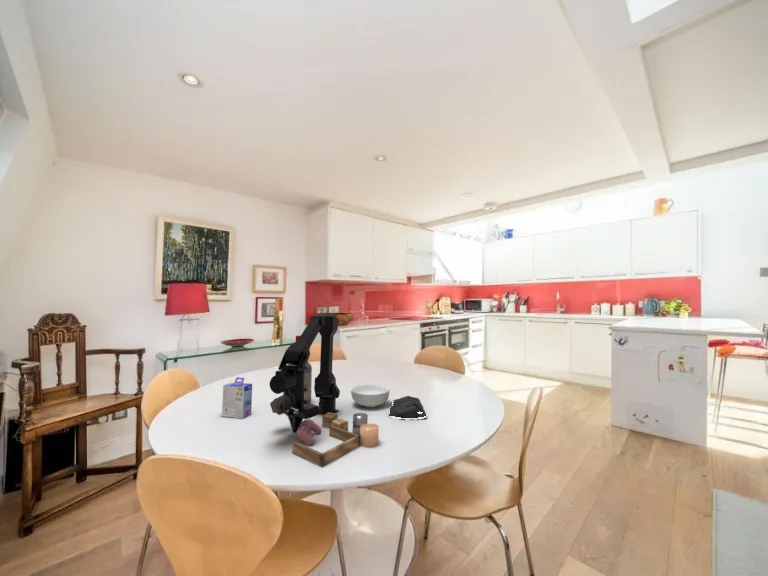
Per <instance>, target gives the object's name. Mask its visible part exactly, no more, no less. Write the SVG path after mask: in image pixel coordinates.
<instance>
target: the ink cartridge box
mask: <svg viewBox="0 0 768 576" xmlns="http://www.w3.org/2000/svg"><path fill="white" fill-rule="evenodd" d="M244 380H245V377H241V376H240V377H239V376H236V378H235V380H234V382H230V383H226V384H224V385H223V386H222V402H221V403H222V405H221V417H223V418H224V417H225V418H235V419H236V418H237V419H244V418H246V417H248V416H251V415H252V409H253V408H252V407H253V406H252V400H253V399H252V397H253V383H251V382H250V383H249V382H248V383H247V382H244Z"/></svg>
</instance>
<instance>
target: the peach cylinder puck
mask: <svg viewBox="0 0 768 576" xmlns="http://www.w3.org/2000/svg"><path fill="white" fill-rule="evenodd" d="M379 427H380V426H379V425H377V424H375V423H367V424H363V425H361V426H360V435H361V443H360V446H361V447H363V448H375V447H377V446H378V445H379V444H378V443H379V437H380V436H379V433H380V431H379V430H380V429H379Z"/></svg>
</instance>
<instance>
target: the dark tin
mask: <svg viewBox="0 0 768 576" xmlns="http://www.w3.org/2000/svg"><path fill="white" fill-rule="evenodd" d="M368 416H369V415H368V414H367V413H364V412H356V413H353V415H352V429H351V430H352V433H355V434H358V435H360V426H361V425H363V424H368V422H369V421H368V418H369V417H368Z"/></svg>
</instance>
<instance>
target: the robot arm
mask: <svg viewBox="0 0 768 576" xmlns="http://www.w3.org/2000/svg"><path fill="white" fill-rule="evenodd" d="M339 324H340V320H339V318H338V316H337V315H336V314H319V315H317V314H314V315H311V316H310V318H309V321H308V323H307V325H306V327H305V328H304V330H303V332H302V333H301V334H300V335H299V336H300V338H299V339H298V341H297V342H296V341H295V342H292V344H290V345H289V346H288V348H287V349H286V350H285V351H284V353H283V357H282V359H281V361H280V363H279V364H278V365H279V366H278V368H277V369H278V370H276V371H275V374H274V375H273V376H272V377H271V378H270V380H269V388H270V390H271V392H273V394H276V395H280V394H282V395H280V396H278V397H276V398H274V399H273V400H272V401H270V402H269V405H270V408H271V410H272V413H273V414H277V415H278V416H281V415H283V414H284V415H285V416H287V418H288V421H289V425H290V427H291V431H292V433H293V434H296V433H298V432H297V430H298V428H299V426H300V424H301V422H302V421H304V420H307V419H308V420H309V419H312V418H313V417H317V416H318V415H319V416H320V415H322V416H323V415H325V414H326V413H328V412H330V413H337V412H339V409H337V407H336V405H337V404H336V402H337V401H336V399H339V397H340V394H341V391H340V388H339V387H338V385H337V379H336V375H334V373H333V355H334V337H335V334H337V332H338V327H339ZM318 334H319V335H320V361H319V364H320V365H319V373H318V375H317V376H316V377H315V378H314V385H313V389H314V394H315V398H318V399H319V400H318V405H317V404H314V403H310V404H309V405H304V404H306V403H307V400H305V399H304V392H305V391H307V388H305V387H304V384H305V370H307V369H308V368H307V366H305V364H306V363H307V361H308V362H309V358H310V357H311V350H310V349H311V347H312V345H313V343H314V341H315V339H316V337H318V336H317V335H318ZM292 365H297V366H292Z"/></svg>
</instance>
